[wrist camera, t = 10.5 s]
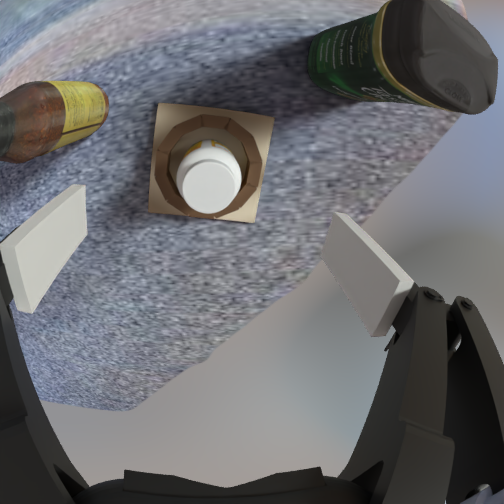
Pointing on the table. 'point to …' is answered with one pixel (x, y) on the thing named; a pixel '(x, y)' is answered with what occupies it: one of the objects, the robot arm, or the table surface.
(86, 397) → the table surface
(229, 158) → the supplement bottle
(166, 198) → the collar
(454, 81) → the coffee jar
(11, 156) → the sauce bottle
